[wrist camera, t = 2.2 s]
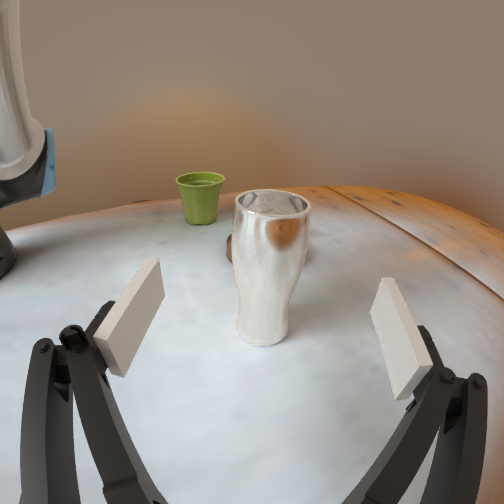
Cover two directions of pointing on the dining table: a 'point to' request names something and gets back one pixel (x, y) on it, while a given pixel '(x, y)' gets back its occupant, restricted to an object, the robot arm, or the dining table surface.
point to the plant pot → (200, 196)
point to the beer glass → (267, 260)
